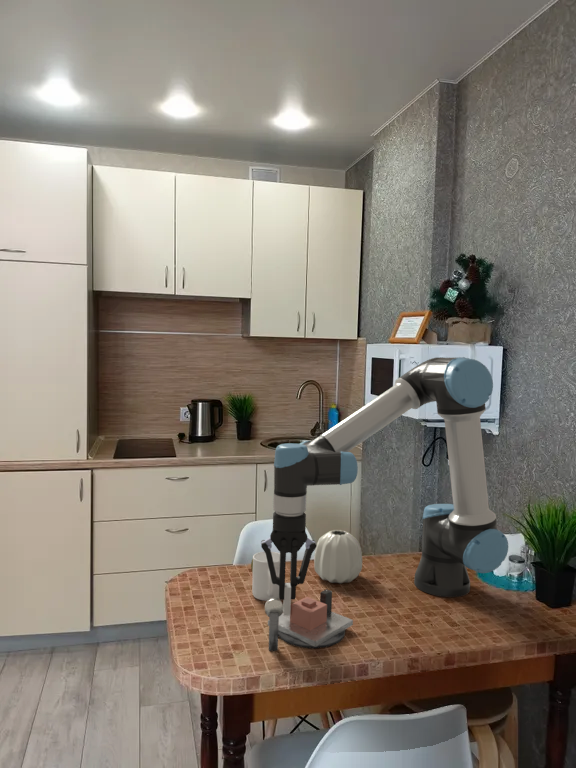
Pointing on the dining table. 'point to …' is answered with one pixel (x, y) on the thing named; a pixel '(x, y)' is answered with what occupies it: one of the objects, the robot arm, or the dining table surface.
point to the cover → (308, 613)
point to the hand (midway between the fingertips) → (286, 612)
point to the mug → (264, 577)
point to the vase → (338, 557)
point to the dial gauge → (273, 621)
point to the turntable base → (302, 644)
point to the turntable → (322, 631)
